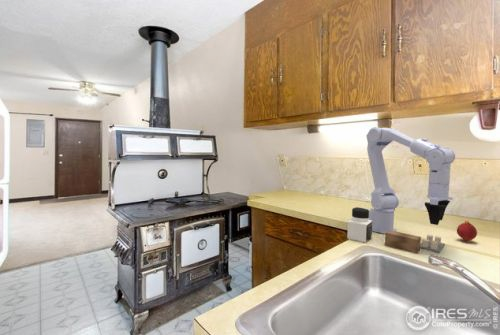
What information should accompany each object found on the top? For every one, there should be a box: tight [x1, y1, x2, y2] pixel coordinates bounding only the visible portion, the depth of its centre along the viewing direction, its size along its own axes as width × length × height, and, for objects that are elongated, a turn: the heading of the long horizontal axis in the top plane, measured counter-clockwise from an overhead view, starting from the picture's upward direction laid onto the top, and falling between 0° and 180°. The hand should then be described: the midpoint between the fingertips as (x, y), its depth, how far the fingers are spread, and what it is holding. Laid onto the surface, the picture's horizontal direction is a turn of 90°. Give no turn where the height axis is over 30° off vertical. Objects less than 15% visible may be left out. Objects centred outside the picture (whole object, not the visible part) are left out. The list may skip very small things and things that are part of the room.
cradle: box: [420, 234, 446, 254], centre depth 90 cm, size 10×6×3 cm, turn 134°
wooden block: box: [384, 230, 422, 255], centre depth 89 cm, size 10×4×5 cm, turn 44°
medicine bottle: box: [347, 206, 373, 244], centre depth 98 cm, size 7×7×12 cm
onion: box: [456, 220, 478, 242], centre depth 95 cm, size 6×6×8 cm
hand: (436, 221), depth 87 cm, fingers open, 7 cm apart
